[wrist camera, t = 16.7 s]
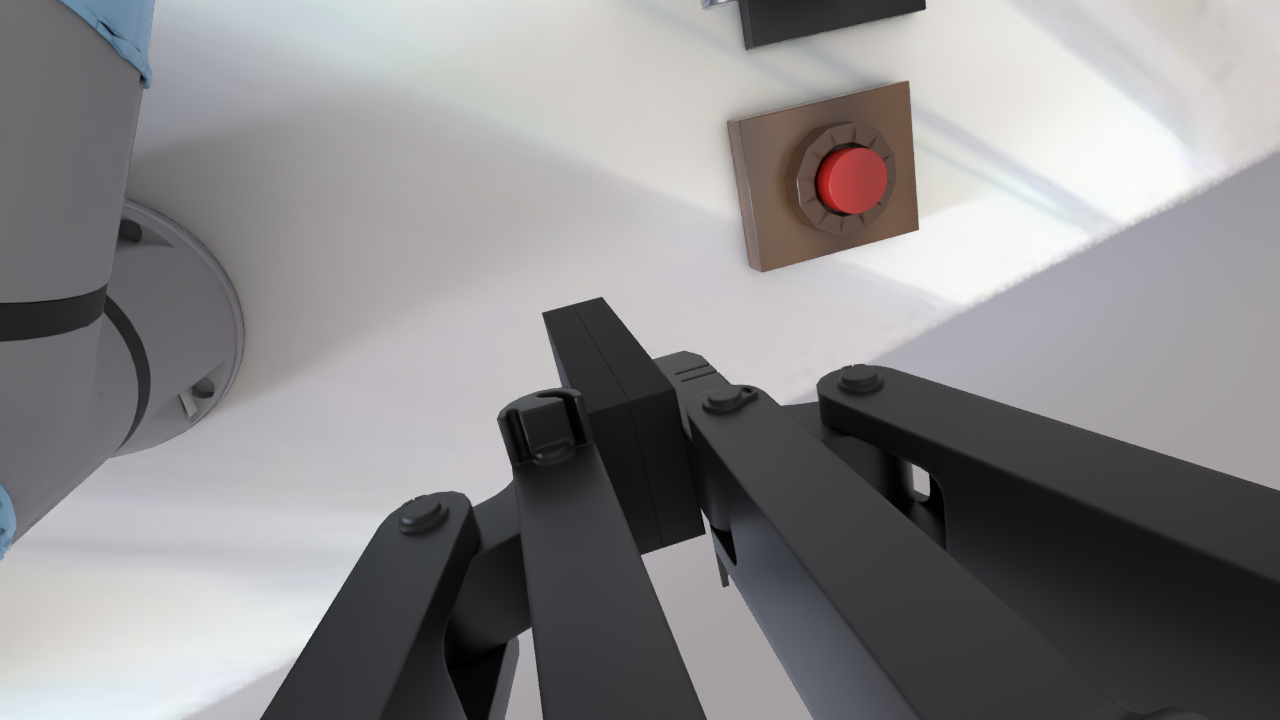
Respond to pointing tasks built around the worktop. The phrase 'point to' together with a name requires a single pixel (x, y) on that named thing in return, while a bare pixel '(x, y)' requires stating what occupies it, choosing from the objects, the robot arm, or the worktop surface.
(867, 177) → the button
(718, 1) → the tap lever
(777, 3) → the black lever stand
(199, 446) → the worktop surface
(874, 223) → the button box
